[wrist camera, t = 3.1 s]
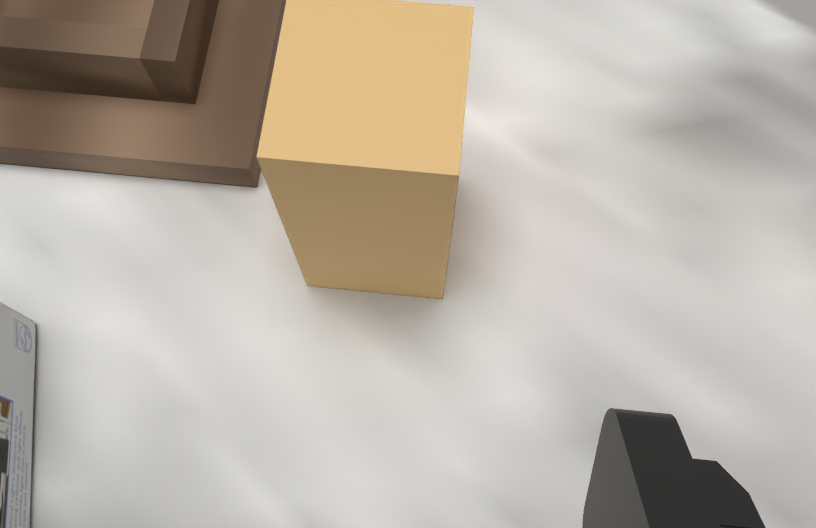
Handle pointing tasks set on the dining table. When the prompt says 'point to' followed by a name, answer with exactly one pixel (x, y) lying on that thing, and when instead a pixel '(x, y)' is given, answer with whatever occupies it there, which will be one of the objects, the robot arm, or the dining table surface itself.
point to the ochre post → (368, 140)
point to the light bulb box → (16, 416)
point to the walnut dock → (138, 86)
